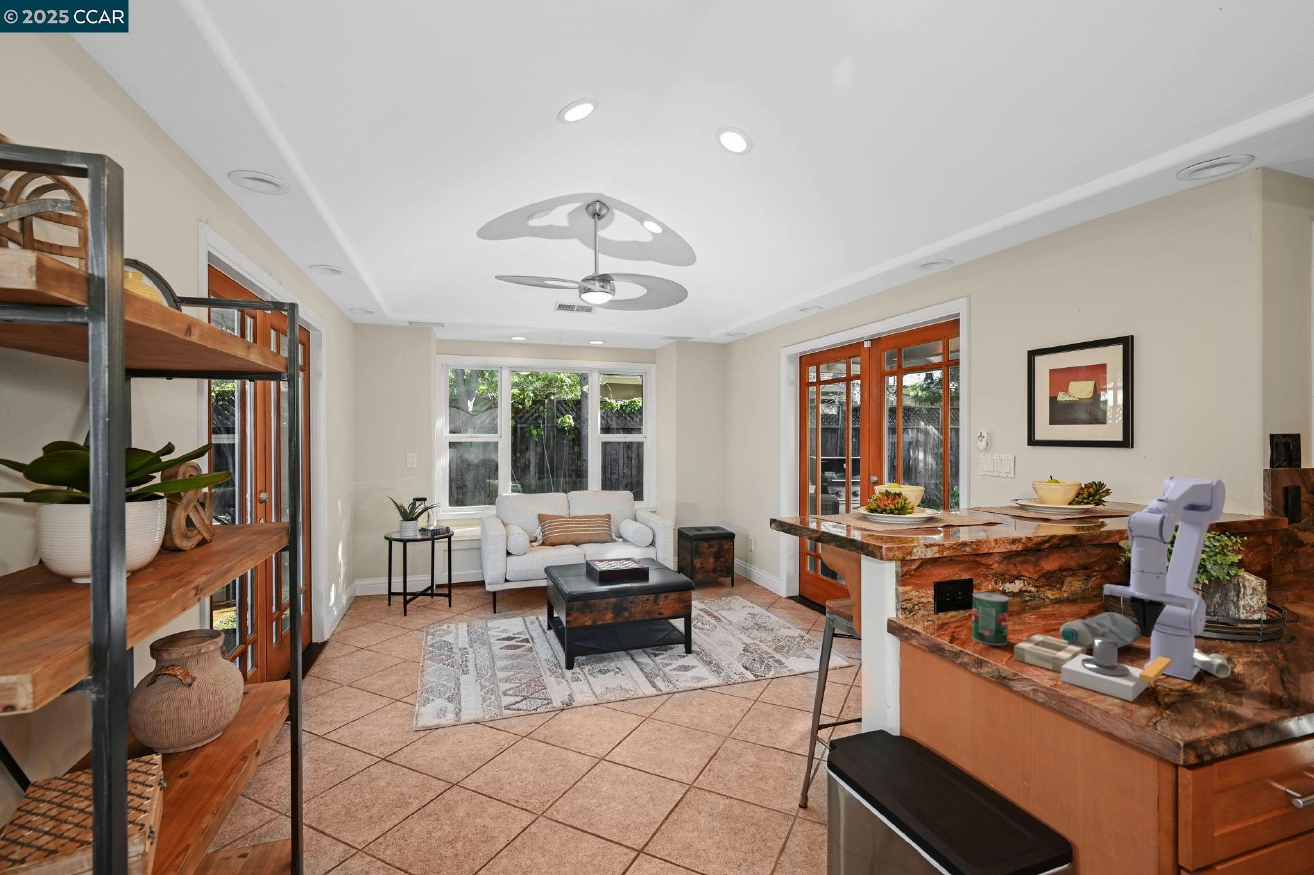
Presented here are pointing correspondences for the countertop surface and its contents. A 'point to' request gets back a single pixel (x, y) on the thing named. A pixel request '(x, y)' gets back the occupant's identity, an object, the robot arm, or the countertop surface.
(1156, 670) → the bar
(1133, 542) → the robot arm
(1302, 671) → the countertop surface
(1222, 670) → the pipe fitting
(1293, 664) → the countertop surface
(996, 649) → the countertop surface
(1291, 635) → the countertop surface
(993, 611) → the canned tomato
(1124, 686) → the socket block
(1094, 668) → the glossy grey dome knob
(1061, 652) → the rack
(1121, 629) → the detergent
